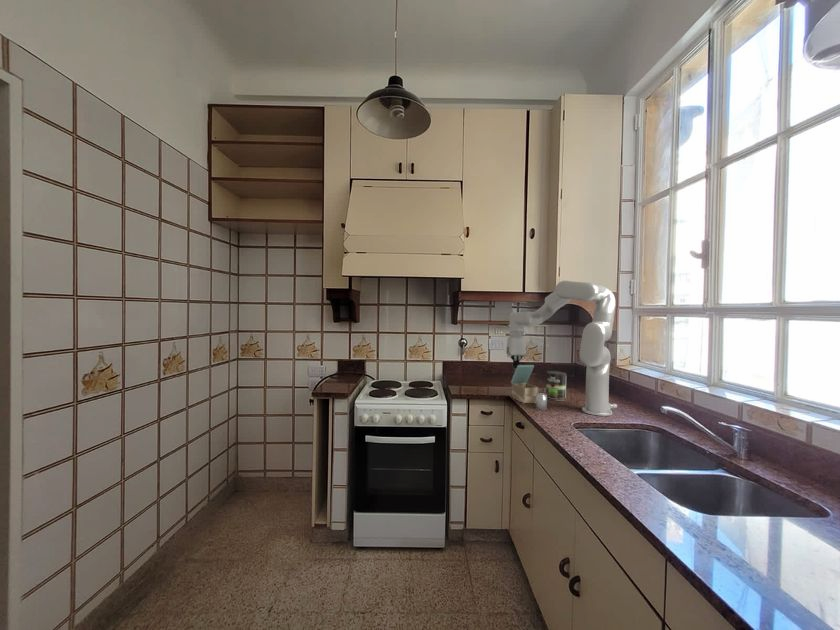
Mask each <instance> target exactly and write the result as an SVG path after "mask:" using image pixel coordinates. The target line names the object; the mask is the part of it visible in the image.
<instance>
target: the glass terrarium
mask: <svg viewBox="0 0 840 630" xmlns="http://www.w3.org/2000/svg"><path fill="white" fill-rule="evenodd" d="M545 374H546V380H545V381H546V382H545V383H546V386H545V388H546V391H545V394H547V397H549V398H553V399H564V398H566V399H567V373H566V372H564V371H559V370H547V371H546V372H545Z"/></svg>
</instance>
